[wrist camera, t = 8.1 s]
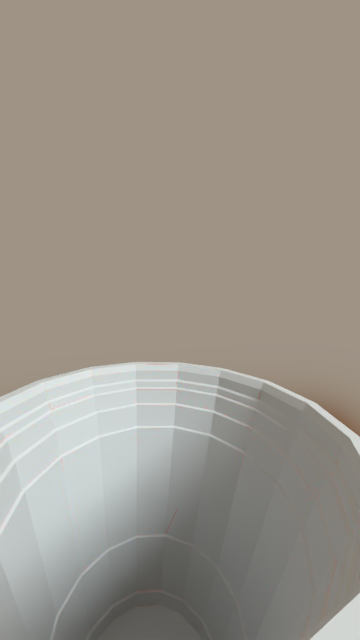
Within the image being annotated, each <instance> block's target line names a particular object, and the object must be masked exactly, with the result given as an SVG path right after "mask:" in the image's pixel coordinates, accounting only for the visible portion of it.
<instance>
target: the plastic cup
mask: <svg viewBox="0 0 360 640" xmlns="http://www.w3.org/2000/svg"><path fill="white" fill-rule="evenodd" d="M0 640H360V437H359V436H358V435H356V434H355V433H354V432H352V431H351V430H350V429H349V428H347V427H346V426H345V425H343V424H342V423H341V422H340V421H338V420H337V419H336V418H334V417H333V416H332V415H331V414H329V413H328V412H327V411H325V410H324V409H323V408H321V407H320V406H319V405H318V404H316V403H315V402H313V401H310V400H308V399H306V398H304V397H302V396H300V395H298V394H295V393H293V392H291V391H289V390H287V389H285V388H283V387H280V386H278V385H276V384H274V383H272V382H270V381H267V380H263V379H260V378H256V377H253V376H249V375H245V374H242V373H238V372H235V371H231V370H227V369H224V368H217V367H209V366H202V365H195V364H188V363H180V362H130V363H121V364H113V365H105V366H97V367H88V368H84V369H80V370H76V371H72V372H68V373H65V374H61V375H57V376H53V377H49V378H45V379H42V380H38V381H35V382H33V383H31V384H28V385H26V386H24V387H22V388H20V389H17V390H15V391H13V392H11V393H8V394H6V395H4V396H2V397H0Z"/></svg>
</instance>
